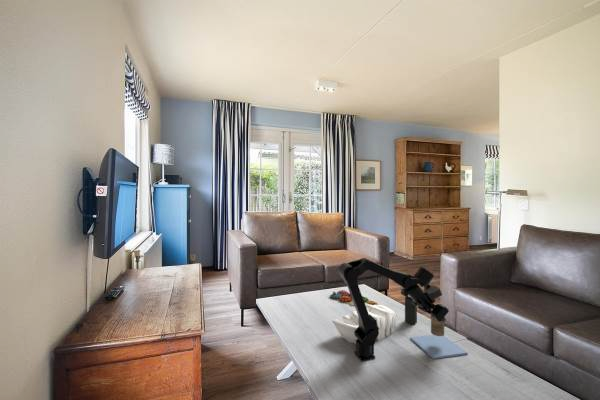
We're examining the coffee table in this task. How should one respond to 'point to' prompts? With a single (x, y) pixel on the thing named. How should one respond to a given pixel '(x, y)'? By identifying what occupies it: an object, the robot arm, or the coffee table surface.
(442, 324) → the walnut pillar
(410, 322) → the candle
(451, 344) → the blue mat
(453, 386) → the coffee table surface
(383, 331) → the wavy white extrusion
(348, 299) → the gear puzzle
